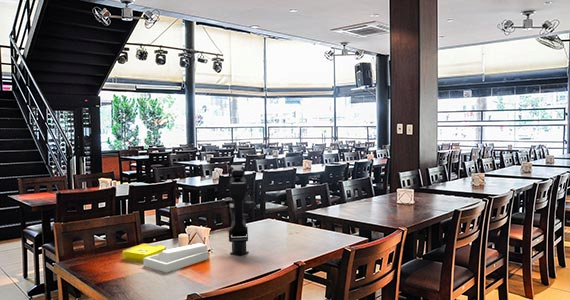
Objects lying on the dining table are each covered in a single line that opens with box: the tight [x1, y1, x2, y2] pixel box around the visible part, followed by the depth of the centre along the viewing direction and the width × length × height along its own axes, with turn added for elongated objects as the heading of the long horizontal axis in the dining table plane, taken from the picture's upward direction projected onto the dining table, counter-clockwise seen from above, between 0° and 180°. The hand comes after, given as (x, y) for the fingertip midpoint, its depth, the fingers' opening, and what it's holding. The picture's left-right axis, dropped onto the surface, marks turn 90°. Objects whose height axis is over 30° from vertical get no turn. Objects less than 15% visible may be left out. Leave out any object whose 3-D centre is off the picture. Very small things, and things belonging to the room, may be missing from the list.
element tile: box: [122, 243, 167, 264], centre depth 207 cm, size 15×15×5 cm
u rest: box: [143, 250, 210, 274], centre depth 197 cm, size 16×24×4 cm
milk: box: [159, 242, 208, 263], centre depth 198 cm, size 6×6×22 cm
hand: (238, 220), depth 220 cm, fingers closed
